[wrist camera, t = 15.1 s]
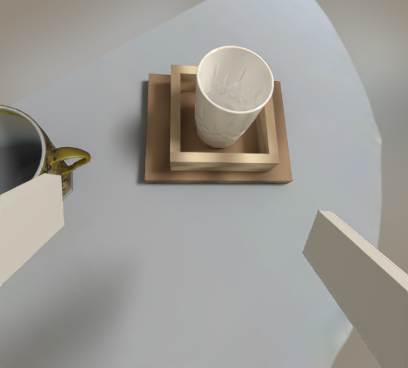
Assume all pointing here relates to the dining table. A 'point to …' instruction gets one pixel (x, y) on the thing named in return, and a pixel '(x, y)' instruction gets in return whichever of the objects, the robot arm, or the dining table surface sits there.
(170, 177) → the tray
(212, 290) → the dining table surface
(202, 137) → the white cup
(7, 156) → the ceramic cup
